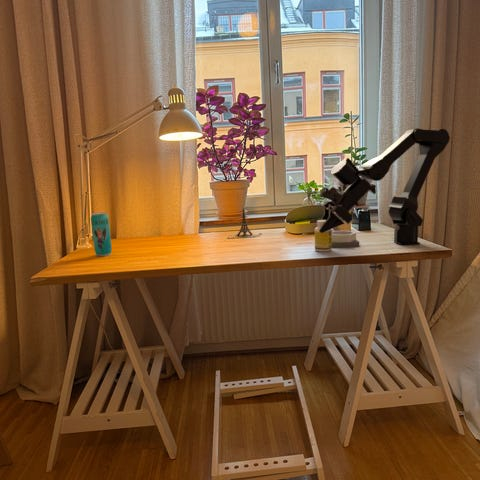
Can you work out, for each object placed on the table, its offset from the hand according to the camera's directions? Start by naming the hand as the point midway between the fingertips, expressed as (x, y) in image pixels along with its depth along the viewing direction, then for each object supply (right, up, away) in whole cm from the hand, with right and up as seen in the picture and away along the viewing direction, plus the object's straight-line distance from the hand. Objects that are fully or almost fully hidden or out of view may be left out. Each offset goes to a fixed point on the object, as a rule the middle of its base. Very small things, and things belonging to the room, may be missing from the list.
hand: (318, 230), depth 128 cm
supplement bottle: (+2, -7, +1) cm, 7 cm away
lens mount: (+10, -4, +9) cm, 14 cm away
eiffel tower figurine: (-24, -2, +36) cm, 43 cm away
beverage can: (-74, -9, +12) cm, 75 cm away
